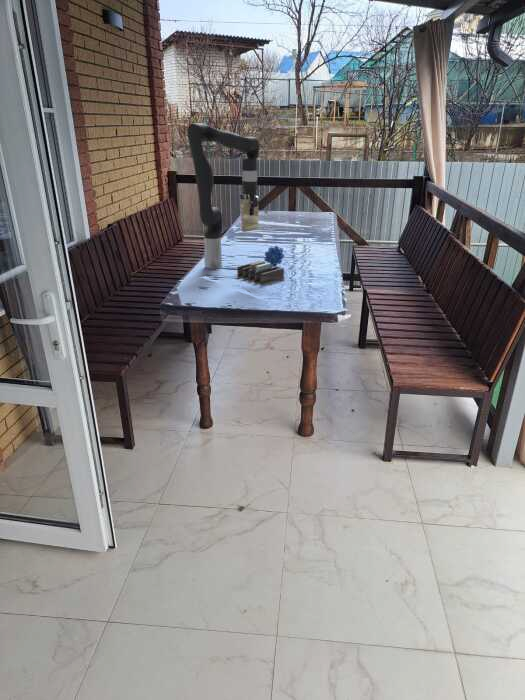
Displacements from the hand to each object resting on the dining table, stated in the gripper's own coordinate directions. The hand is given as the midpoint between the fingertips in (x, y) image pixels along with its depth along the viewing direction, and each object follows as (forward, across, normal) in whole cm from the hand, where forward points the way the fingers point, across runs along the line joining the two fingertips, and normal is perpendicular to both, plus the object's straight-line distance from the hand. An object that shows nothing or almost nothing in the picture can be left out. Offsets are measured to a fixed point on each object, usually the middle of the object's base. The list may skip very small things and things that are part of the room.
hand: (250, 214), depth 253 cm
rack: (+32, +10, -2) cm, 34 cm away
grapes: (+32, -3, +21) cm, 39 cm away
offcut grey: (+30, +12, -2) cm, 33 cm away
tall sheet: (+8, 0, 0) cm, 8 cm away
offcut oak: (+30, +8, -2) cm, 31 cm away
